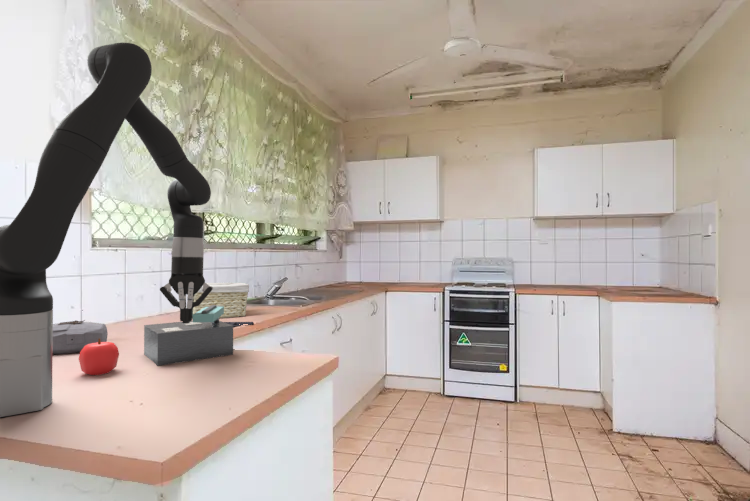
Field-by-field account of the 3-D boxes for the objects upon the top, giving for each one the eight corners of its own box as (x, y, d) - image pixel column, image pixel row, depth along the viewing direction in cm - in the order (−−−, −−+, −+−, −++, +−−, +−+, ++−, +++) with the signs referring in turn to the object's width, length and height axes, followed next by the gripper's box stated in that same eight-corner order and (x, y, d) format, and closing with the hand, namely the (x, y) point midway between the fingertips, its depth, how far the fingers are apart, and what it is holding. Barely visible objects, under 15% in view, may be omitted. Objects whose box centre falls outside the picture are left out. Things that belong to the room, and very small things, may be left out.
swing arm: (207, 312, 126) (207, 303, 126) (225, 312, 127) (225, 303, 127) (192, 322, 108) (192, 312, 108) (213, 321, 109) (213, 311, 109)
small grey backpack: (109, 342, 136) (29, 348, 127) (109, 315, 136) (30, 320, 127) (104, 352, 122) (15, 359, 113) (105, 322, 123) (15, 328, 113)
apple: (100, 378, 96) (100, 342, 96) (69, 376, 98) (69, 341, 98) (127, 369, 104) (127, 335, 104) (98, 367, 105) (98, 334, 105)
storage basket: (240, 312, 203) (240, 281, 204) (250, 316, 190) (250, 283, 190) (185, 316, 190) (185, 283, 191) (192, 321, 177) (192, 285, 177)
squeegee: (202, 332, 154) (202, 325, 154) (216, 325, 169) (216, 318, 169) (243, 333, 155) (243, 325, 155) (253, 326, 170) (253, 319, 170)
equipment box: (233, 354, 119) (233, 317, 119) (157, 365, 107) (157, 324, 107) (213, 345, 131) (213, 311, 131) (144, 354, 119) (144, 316, 119)
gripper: (216, 256, 116) (214, 320, 116) (162, 255, 113) (161, 321, 112) (213, 256, 109) (212, 324, 109) (156, 255, 106) (154, 326, 105)
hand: (186, 323), depth 110 cm, fingers closed
